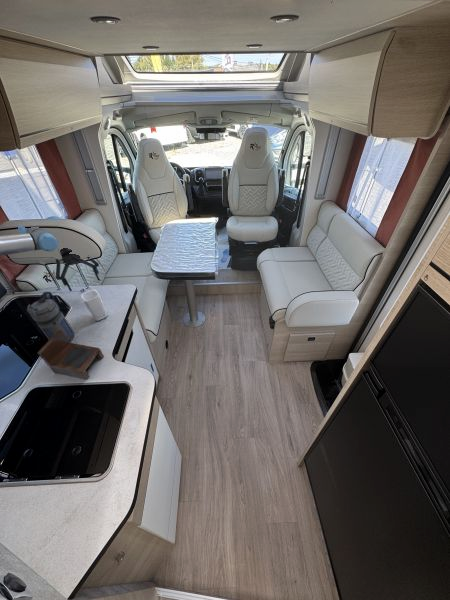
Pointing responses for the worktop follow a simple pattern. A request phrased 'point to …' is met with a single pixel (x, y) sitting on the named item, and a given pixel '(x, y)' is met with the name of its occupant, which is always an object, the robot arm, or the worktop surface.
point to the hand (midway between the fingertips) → (85, 285)
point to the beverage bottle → (50, 317)
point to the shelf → (68, 356)
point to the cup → (94, 304)
